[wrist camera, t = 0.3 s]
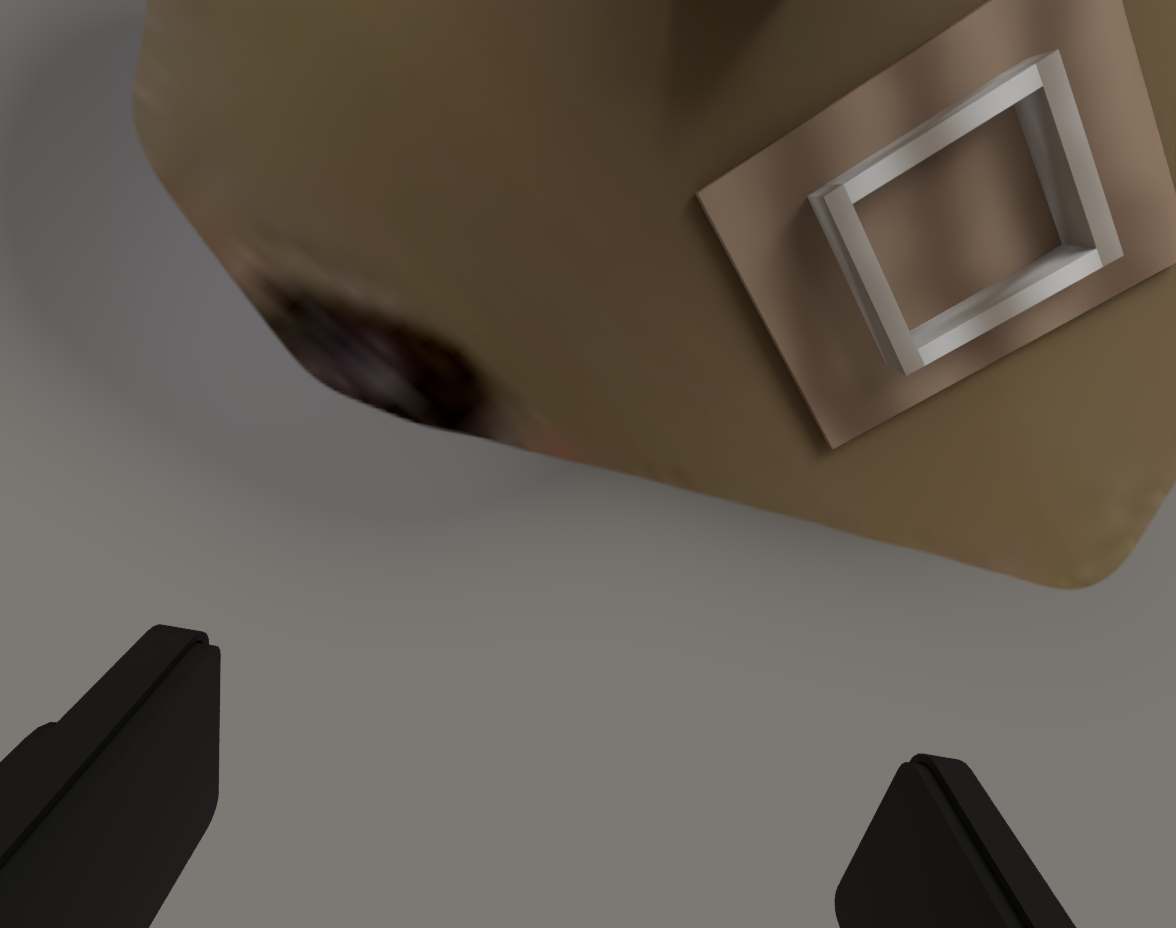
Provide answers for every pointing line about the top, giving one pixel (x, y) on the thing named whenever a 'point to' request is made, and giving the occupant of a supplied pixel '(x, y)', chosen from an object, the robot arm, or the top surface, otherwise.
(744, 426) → the top surface
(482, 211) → the top surface
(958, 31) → the socket board
